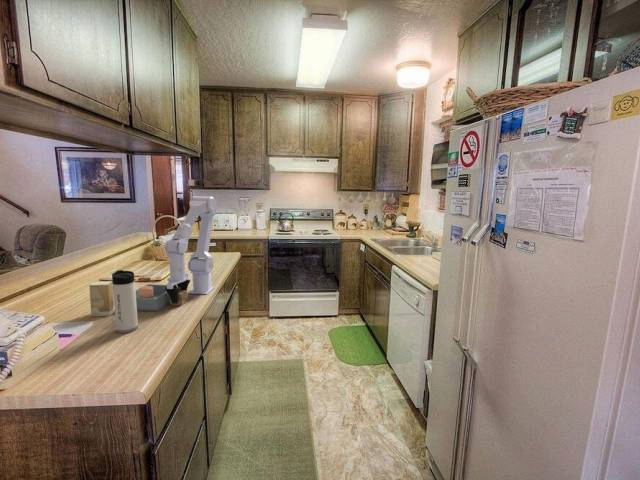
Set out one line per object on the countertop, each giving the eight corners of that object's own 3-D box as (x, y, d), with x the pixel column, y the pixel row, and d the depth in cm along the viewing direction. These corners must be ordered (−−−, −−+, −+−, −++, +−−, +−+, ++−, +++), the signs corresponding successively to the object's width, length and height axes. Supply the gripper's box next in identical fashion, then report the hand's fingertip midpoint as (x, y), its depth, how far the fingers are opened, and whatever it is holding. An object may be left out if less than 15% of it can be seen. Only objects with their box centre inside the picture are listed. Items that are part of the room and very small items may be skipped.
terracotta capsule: (136, 306, 121) (135, 289, 120) (145, 301, 126) (144, 285, 125) (148, 307, 121) (147, 290, 120) (156, 302, 126) (155, 286, 125)
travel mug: (133, 323, 109) (129, 268, 105) (141, 328, 104) (137, 272, 101) (113, 328, 104) (108, 272, 100) (120, 335, 100) (115, 276, 96)
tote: (148, 294, 136) (147, 284, 135) (177, 295, 136) (177, 285, 135) (123, 310, 119) (122, 298, 118) (156, 311, 119) (156, 299, 118)
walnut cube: (175, 301, 130) (175, 289, 129) (187, 301, 130) (187, 290, 129) (170, 305, 125) (169, 293, 124) (182, 305, 125) (181, 294, 124)
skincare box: (90, 317, 112) (87, 285, 110) (96, 312, 116) (93, 281, 114) (111, 315, 114) (108, 284, 112) (115, 311, 118) (112, 280, 116)
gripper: (176, 263, 132) (177, 293, 135) (158, 272, 118) (160, 306, 120) (192, 264, 132) (193, 294, 135) (176, 273, 118) (178, 306, 120)
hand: (178, 299), depth 127 cm, fingers open, 6 cm apart
